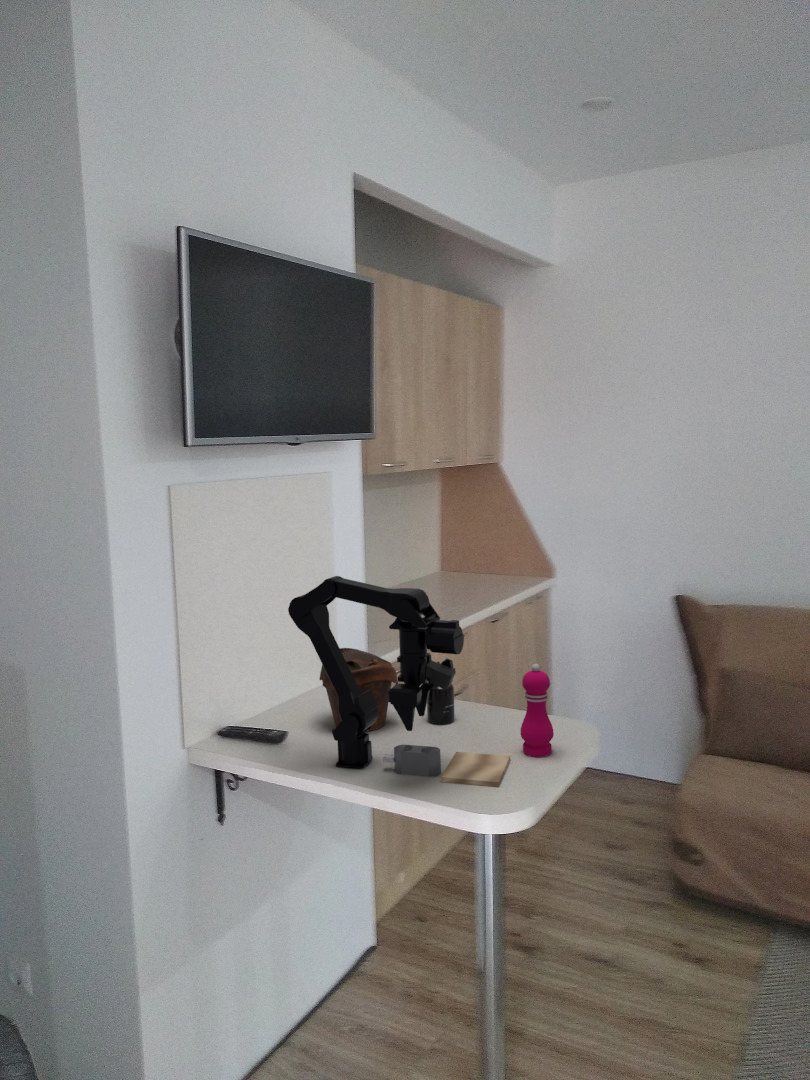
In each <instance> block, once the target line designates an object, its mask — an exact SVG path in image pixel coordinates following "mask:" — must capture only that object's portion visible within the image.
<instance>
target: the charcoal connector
mask: <svg viewBox="0 0 810 1080" xmlns="http://www.w3.org/2000/svg"><path fill="white" fill-rule="evenodd" d="M382 762H384V763H393V764H394V773H396V774H397V775H402V776H404V775H405V776H413V777H414V776H416V777H427V778H435V777H439V776H440V775H442V764H441V762H442V759H441V748H439V747H437V746H429V745H428V746H426V745H416V744H415V745H414V744H412V745H411V744H399V745H396V746H394V747H393V754H388V753H385V754H384V755H383V756H382Z"/></svg>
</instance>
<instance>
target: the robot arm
mask: <svg viewBox="0 0 810 1080" xmlns="http://www.w3.org/2000/svg"><path fill="white" fill-rule="evenodd" d="M336 598H337V599H341V600H345V601H350V602H354V603H357V604H362V605H367V606H370V607H375V608H379V609H381V610H384V611H385V612H386V613H387V614H389V615H391V616H392V617H395V620H394V621H393V622H392V623H391V624H390V625H388V627H389V630H398V634H399V635H398V638H399V655H398V656H397V657H396V662H397V663H399V666H400V667H399V668H400V669H399V670H400V671H399V672H400V674H399V675H397V680H398V683H394V685H393V686H391V689H390V690H389V691H388V692H387V696H388V703H389V704H390V705H392V706H393V708H394V710H395V712H396V714H398V717H399V718H400V720H401V722H402V724H403V726H404V728H405V729H406V731H407V732H412V731H413V730H414V729H413V728H414V720H415V712H416V711H417V714H418V717H424V716H425V714H426V711H427V700H428V696H429V692H430V690H431V689H432V688H433V687H434V686H435V685H438V686H440V688H443V689H448V688H449V686H450V685H451V684H453V681H454V680H453V679H454V677H455V675H456V672H457V671H456V668H455V667H454V662H453V660H452V659H449V658H445V659H444V660H443V661H441V662H440V661H433V660H432V654H431V653H437V654H448V655H460V654H461V653H462V652H463V649H464V641H465V634H464V633H463V629H462V627H461V626H460V620H456V619H451V620H444V619H443V620H441V617H440V615H439V614H438V613H437V611H436V610H435V609H434V607H433V606H432V604H431V602H430V600H429V596H428V594H427V593H426V591H424V590H423V589H420V588H413V587H412V588H410V587H401V588H400V587H399V588H387V587H383V586H379V585H374V584H370V583H366V582H362V581H357V580H352V579H348V578H344V577H342V576H340V575H335V576H332V577H329V578H326V579H323V582H321V583H320V584H319V585H317V586H316V587H314V588H313V589H311V590H310V591H308V592H306V593H305V594H302V595H299V596H297V597H294V598H292V599H291V601H290V602H289V605H288V608H287V612H288V615H289V617H290V618H291V620H292V621H293V623H294V624H295V626H296V627H297V629H298V630H300V631H301V632H302V633H303V634H305V635H306V636H307V637H308V638H309V639H310V641H311V643H312V646H313V648H314V650H315V652H316V654H317V656H318V659H319V660H320V662H321V666H322V665H323V667H324V669H325V671H326V673H327V675H328V677H329V679H330V681H331V683H332V685H333V687H334V689H335V691H336V693H337V696H338V712H339V715H340V718H341V722H340V723H339V724H338V725H337V726H335V727H334V728H333V729H332V730H331V734H332V736H333V737H332V738H333V739H334V741H336V742H337V758H338V760H337V762H336V763H335V766H336V767H341V768H353V769H364V768H366V766H367V765H368V764H369V763H370V761H372V759H373V757H374V756H373V751H372V748H373V747H372V746H373V745H372V740H370V733H368V732H371V731H372V730H371V728H372V725H373V724H374V723H375V722H376V721H377V718H378V715H379V711H378V708H377V707H378V706H379V704H378V703H377V702H376V701H375V699H374V697H373V694H372V692H371V690H368V691H366V692H365V691H363V690H362V689H361V688H360V687H359V686H358V685H357V683H356V681H355V679H354V677H353V675H352V673H351V671H350V669H349V667H348V665H347V663H346V661H345V659H344V656H343V654H342V652H341V650H340V648H341V647H339V644H338V643H337V640H336V638H335V636H334V634H333V632H332V629H331V627H330V613H329V609H328V605H330V604H331V603H332V602H334V600H335V599H336ZM422 616H424V617H422ZM429 650H430V652H431V653H430V652H428V651H429ZM370 730H371V731H370Z"/></svg>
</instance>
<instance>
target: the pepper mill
mask: <svg viewBox="0 0 810 1080" xmlns="http://www.w3.org/2000/svg"><path fill="white" fill-rule="evenodd" d="M521 684H522V687H523V690H525V692H524V699H525V700H526V712H525V716H524V718H523V721H522V723H521V726H520V737H521V739H522V740H523V741H524V742H523V743H522V752H523V754H525V755H526V756H528V757H534V758H543V757H547V756H549V755H551V754H552V750H553V749H552V747H553V746H552V743H551V741H552V739H553V738H554V727H553V724H552V722H551V720H550V718H549V715H548V711H547V705H546V704H547V700H548V699H549V696H548V695H549V693H548V689H550V686H551V682H550V677H549V675H548V674H547V673H546V672H544V670H543V671H542V670H541V667H540V665H539V664H538V663H534V664H532V665H531V670H530V671H527V672H526V673H525V674H524V675H523V677H522V682H521Z"/></svg>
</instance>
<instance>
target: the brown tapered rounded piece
mask: <svg viewBox="0 0 810 1080" xmlns="http://www.w3.org/2000/svg"><path fill="white" fill-rule="evenodd" d="M339 648H340V650H341V652H342V654H343V656H344V659H345V661H346V663H347V665H348V667H349V669H350V671H351V673H352V675H353V677H354V679H355V681H356V683H357V685H358V686H359V687H360V688H361V689H362V690H363V691H365V692H366V691H368V690H371V692H372V694H373V697H374V699H375V701H376V702H377V703H378V704H379V706H378V707H377V708H378V711H379V715H378V718H377V721H376V722H375V723H374V724H373V725H372V728H371V730H370V731H369V732H371V731H375V730H377V729H380V728H381V727H383V726H384V725H385V723H386V721H387V716H388V714H387V713H388V707H389V702H388V696H387V692H388V691H389V690H390V689H391V688H392V684H396V683H398V684H399V682H398V673H397V670H396V668H395V667H394V666H392V665H393V664H392V663H391V662H389V661H388V660H386V659H384V658H383V657H380V656H378V655H376V654H373V653H370V652H368V651H364V650H360V649H356V648H350V647H339ZM319 681H321V682H322V687H323V688H325V689H326V690H325V691H326V693H327V698H328V701H329V706H330V710H331V713H332V717H333V718H332V719H333V722H334V726H335V727H336V726H337V725H338V724H339V723H340V722H341V718H340V715H339V712H338V696H337V693H336V691H335V689H334V687H333V685H332V683H331V681H330V679H329V677H328V675H327V673H326V671H325V669H324V667H323V665H322V664H321V669H320V673H319Z"/></svg>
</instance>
